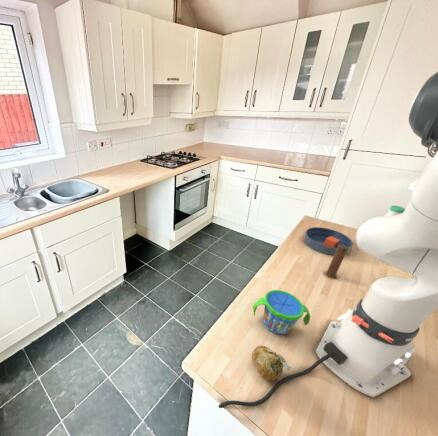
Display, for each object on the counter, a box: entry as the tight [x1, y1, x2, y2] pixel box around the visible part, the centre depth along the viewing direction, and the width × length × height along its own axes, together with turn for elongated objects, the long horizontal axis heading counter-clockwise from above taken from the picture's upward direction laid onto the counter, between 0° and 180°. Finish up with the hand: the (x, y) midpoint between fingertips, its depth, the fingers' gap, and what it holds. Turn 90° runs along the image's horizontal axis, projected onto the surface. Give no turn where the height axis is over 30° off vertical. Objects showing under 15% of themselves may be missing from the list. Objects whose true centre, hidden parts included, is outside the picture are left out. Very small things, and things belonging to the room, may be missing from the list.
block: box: [324, 236, 340, 248], centre depth 111 cm, size 4×4×4 cm
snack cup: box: [252, 289, 311, 335], centre depth 74 cm, size 16×10×10 cm
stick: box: [325, 244, 348, 279], centre depth 93 cm, size 3×3×14 cm
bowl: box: [302, 226, 354, 257], centre depth 113 cm, size 18×18×4 cm
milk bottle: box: [384, 205, 406, 216], centre depth 108 cm, size 8×8×20 cm
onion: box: [251, 345, 292, 381], centre depth 63 cm, size 8×8×8 cm
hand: (423, 219), depth 74 cm, fingers open, 8 cm apart
